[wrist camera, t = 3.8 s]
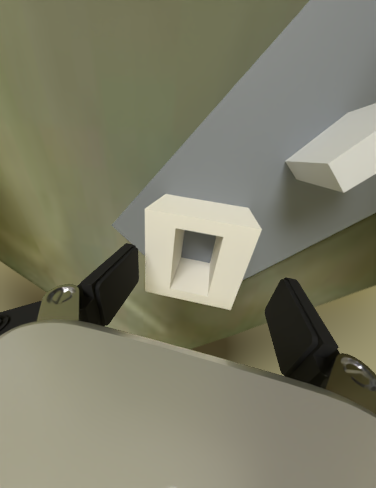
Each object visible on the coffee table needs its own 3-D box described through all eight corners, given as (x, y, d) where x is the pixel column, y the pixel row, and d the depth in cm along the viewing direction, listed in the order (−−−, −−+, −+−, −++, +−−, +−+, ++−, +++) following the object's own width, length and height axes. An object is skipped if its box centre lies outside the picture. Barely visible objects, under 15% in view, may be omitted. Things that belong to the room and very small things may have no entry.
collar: (227, 273, 16) (230, 310, 13) (161, 260, 17) (145, 291, 13) (248, 207, 13) (261, 229, 9) (165, 194, 14) (144, 208, 10)
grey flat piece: (198, 294, 21) (191, 346, 15) (119, 220, 17) (71, 250, 12) (435, 166, 11) (655, 176, 6) (362, -51, 8) (733, -581, 2)
